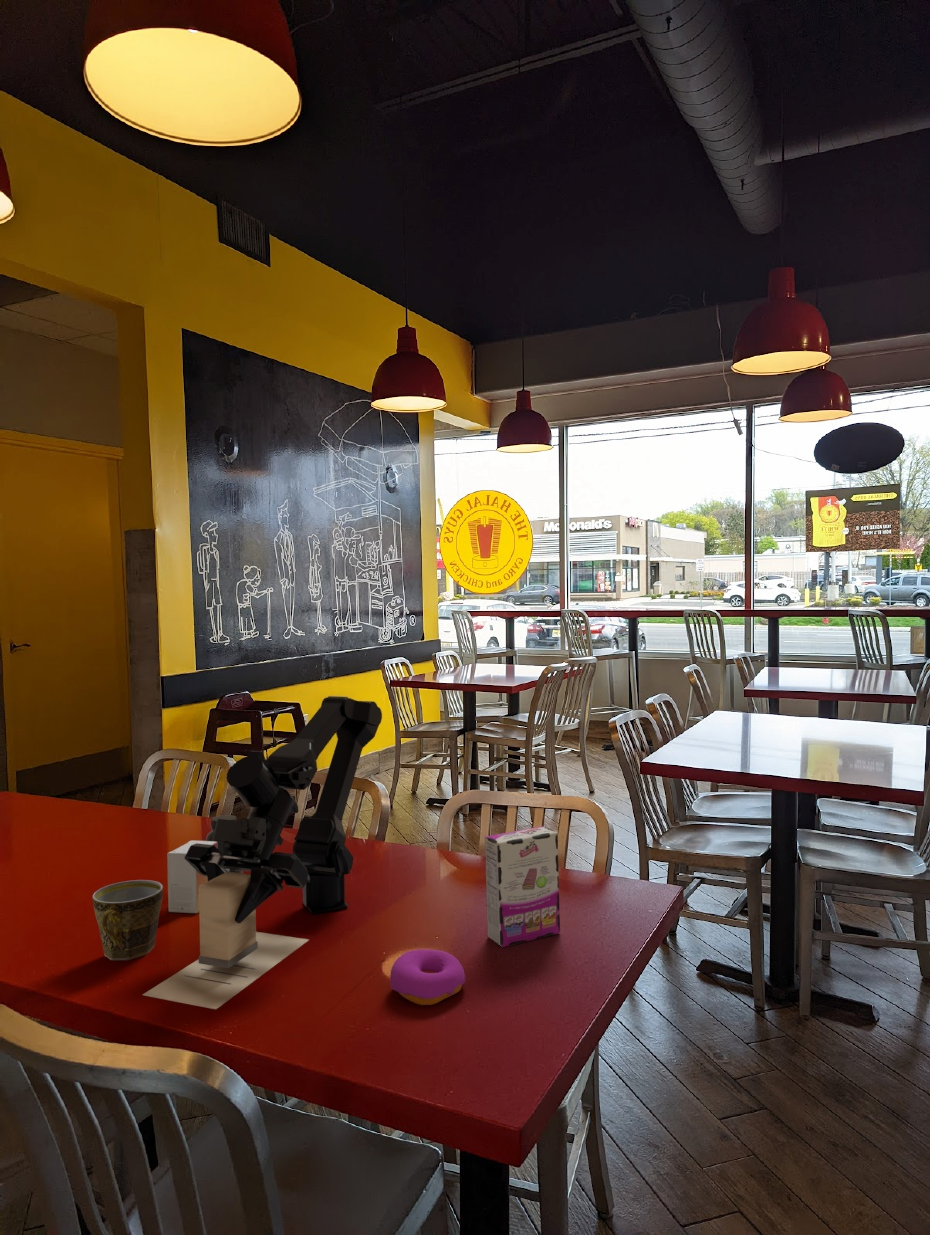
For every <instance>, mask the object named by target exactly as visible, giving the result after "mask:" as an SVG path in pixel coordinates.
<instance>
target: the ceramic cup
mask: <svg viewBox="0 0 930 1235" xmlns="http://www.w3.org/2000/svg"><path fill="white" fill-rule="evenodd" d="M163 895H164V885H163V884H162V883H161V882H159V881H155V880H150V879H148V880H147V879H136V880H135V879H134V880H126V881H120V882H115V883H112V884H108V885H106V886H103V887H101V888H99V889H98V890H96V891H95V892H94V893H93V895H92V904H93V910H94V915H95V918H96V921H97V925H98V929H99V930H98V931H99V937H100V940H101V944H102V950H103V954H104V958H106V957H107V958H108V959H109V960H110V961H130V960H134V959H137V958H140V957H144V956H147V955H148V954H149V953H150V952H151V951H152V950H153V949H154V948H155V945H156V938H157V932H158V927H159V919H160V918H159V917H160V913H161V909H162V903H163Z"/></svg>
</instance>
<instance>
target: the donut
mask: <svg viewBox="0 0 930 1235" xmlns="http://www.w3.org/2000/svg"><path fill="white" fill-rule="evenodd" d="M389 976H390V977H389V978H390V983H389V984H390V987H391V989H392V990H393V991H395V992H398V993H399V995H400V996H401V997H403V998H404V999H406V1000H408V1001H409V1002H412V1003H413V1004H416V1005H419V1006H423V1005H429V1006H432V1005H436V1004H438V1003H440V1002H442V1001H443V1000H445V999H448V998H449V997H451V996H453V995H455V994H456V995H457V993H458V992H460V991H461V990H462V986H463V985H464V984H465V982H466V974H465V971H464V968H463V965H462V964H461V963H460V960H458V958H457V957H455V956H454V955H452V954H450V953H449V952H446V951H442V950H437V949H428V948H427V949H422V948H421V949H413V950H409V951H406V952H404V953H402V954H401V955H400V956H398V957H397V958H396V960H395V961H394V963H393V964H392V967H391V970H390V975H389Z"/></svg>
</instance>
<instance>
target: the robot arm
mask: <svg viewBox="0 0 930 1235" xmlns="http://www.w3.org/2000/svg"><path fill="white" fill-rule="evenodd" d="M382 712H383V711H382V709H381V708H380V707H379V706H378V704H377V703H376V702H375V701H374V700H373V701H371V700H367V701H366V700H356V699H353V698H350V697H349V696H340V695H339V696H337V695H336V696H335V695H334V696H333V695H331V696H330V695H329V696H327V697H324V698H323V699H322V701H321V706H320V707H319V708H318V709H317V711H316V712H315V714H313V715H312V717H311V718H310V720H309V721H308V722H307V724H306V725H305V726H304V727H303V728H302V730H301V731H300V732H299V733H298V734H297V736H296V737H295V738H294V739H293V740H292V741H290V742H288V743H285V744H282V745H281V746H278V748H276V749H275V750H274V751H273V752H272V753H271V754H269V755H268V756H267V759H266V757H265V755H264V753H263V751H262V750H260V751H259V750H250V751H249V753H248V754H247V756H244V757H242V758H240V759H238V760H237V761H236V762H234V763H233V765H232V766H229V768H228V770H227V773H226V782H227V783H228V785H229V786H230V787H231V788H232V790H234V792H235V793H236V794H237V796H238V797H239V798H240V799H241V801H242V802H243V803H244V804H245V805H246V806H247V807H250V808H251V810H250V812H249V813H248V815H247V818H245V817H244V818H241V819H239V820H237V821H236V820H226V819H217V823H216V827H215V831H214V835H213V839H212V841H215V842H216V841H220V842H223V843H225V845H224V848H225V849H226V850H227V851H230V852H231V856H230V855H223V854H222V853H221V852H220V851H219V850H218V849H217V848H216V847H215V845H208V844H198V843H196V844H193V845H191V846H190V848H189V849H188V851H187V853H186V855H185V857H184V858H185V859H186V861H187V862H188V863H189V864H190V865H191V866H192V867H193V868H194V869H195V870H196V871H197V872H198V873H199V874H201V875H203V876H207V877H208V881H210V880H212V879H214V878H216V877H218V876H220V875H222V874H224V873H226V872H229V870H230V869H233V870H242V872H250V874H251V875H250V883H249V886H248V888H247V890H246V893H245V895H244V897H243V899H242V902H241V904H240V906H239V908H238V911H237V914H236V917H235V921H236V922H237V923H241V922H242V921H243V920H244V919H245V918H246V917H247V916H248V915H250V914H251V913H252V912H253V911H254V910H255V909H257V908H258V907H259V906H260V905H262V904H263V903H264V902H265V901H266V900H268V899H269V898H270V897H272V896H273V895H274V894H276V893H277V892H282V891H283V890H284V889H285V888H284V886H283V882H284V885H285V886H286V887H287V888H289V887H290V888H297V889H302V903H303V905H304V906H305V907H306V908H307V910H309V912H310V913H311V914H313V915H314V914H320V913H324V912H325V913H326V912H330V911H336V910H342V909H347V908H349V904H348V903H347V901H346V897H345V896H346V895H345V894H346V893H345V892H346V890H345V884H346V883H345V880H346V879H345V876H346V875H350V873H351V870H352V869H353V865H354V855H353V854H352V852H350V850H349V849H348V848H347V846H346V845H345V844H346V842H347V841H346V839H347V836H346V832H345V829H344V826H343V818H344V814H345V810H346V806H347V804H348V800H349V797H350V794H351V789H352V786H353V782H354V779H355V775H356V773H357V769H358V765H359V761H360V758H361V755H362V753H363V752H362V751H363V749H364V748H365V747H366V746H367V745H368V744H369V743H370V742H371V741H373V739H374V738H375V736H376V734H377V731H378V729H379V726H380V725H381V723H382V719H383V713H382ZM335 735H336V738H337V740H336V744H335V747H334V750H333V754H332V757H331V761H330V764H329V767H328V770H327V774H326V777H325V780H324V783H323V786H322V790H321V793H320V797H319V799H318V802H317V806H316V809H315V811H314V813H313V814H312V815H311V816H310V817H302V819H301V820H300V822H299V825H298V830H297V833H296V835H295V837H294V839H293V840H294V842H293V845H292V853H289V852H280V851H275V848H276V846H282V844H283V842H284V838H282V836H281V835H282V832H283V829H284V827H285V824H286V823H287V820H288V818H289V815H290V814H298V813H299V805H298V803H297V802H296V796H295V795H291V793H290V792H289V791H288V790H298V791H302V790H303V791H304V790H306V789H307V788H308V787H309V786H310V784H311V783H312V781H313V779H314V777H315V775H316V773H317V772H318V764H317V762H318V761H317V760H318V759H319V756H320V755H321V754H322V752H323V751H324V749H325V748H326V747H327V745H328V744H329V743H330V742H331V740H332V738H333V737H334V736H335Z"/></svg>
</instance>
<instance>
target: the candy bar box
mask: <svg viewBox="0 0 930 1235" xmlns="http://www.w3.org/2000/svg"><path fill="white" fill-rule="evenodd" d="M558 841H559V840H558V832H557V831H555V830H552V829H550V828H547V827H546V826H538V827H531V828H526V829H520V830H515V831H510V832H509V831H508V832H504V833H498V834H497V833H496V834H493V835H492V834H491V835H487V836H484V855H485V880H486V883H485V886H486V887H485V888H486V889H485V891H486V918H487V919H486V923H487V928H486V929H487V938H488V937H489V938H491V939H492V940H493V941H492V940H491V939H490V940H491V941H492V942H494V941H495V942H496V943H495V942H494V943H495V944H496V945H497V946H499V945H500V946H501V947H500V946H499V947H500V948H506V946H507V947H510V946H509V945H511V946H515V945H518V944H522V943H527V942H531V941H534V940H539V939H542V938H547V937H550V935H551V936H553V935H554V934H555V935H558V934H560V933H561V919H560V918H561V914H560V913H561V912H560V883H559V882H560V881H559V880H560V879H559V877H560V876H559V874H560V872H559V844H558ZM489 938H488V939H489ZM538 938H539V939H538ZM526 941H527V942H526Z"/></svg>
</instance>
